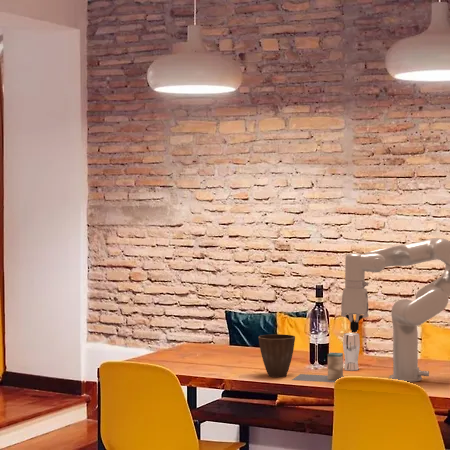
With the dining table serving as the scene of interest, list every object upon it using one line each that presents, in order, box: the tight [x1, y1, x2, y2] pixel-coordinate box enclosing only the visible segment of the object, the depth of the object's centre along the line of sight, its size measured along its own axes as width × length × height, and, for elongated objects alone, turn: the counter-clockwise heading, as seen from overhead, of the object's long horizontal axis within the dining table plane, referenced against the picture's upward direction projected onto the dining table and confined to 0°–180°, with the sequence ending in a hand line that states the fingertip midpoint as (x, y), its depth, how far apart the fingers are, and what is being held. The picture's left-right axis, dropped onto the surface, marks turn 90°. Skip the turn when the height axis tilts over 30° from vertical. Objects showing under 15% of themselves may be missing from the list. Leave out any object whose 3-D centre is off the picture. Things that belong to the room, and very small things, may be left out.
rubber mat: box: [291, 373, 344, 383], centre depth 390 cm, size 22×14×1 cm, turn 71°
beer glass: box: [342, 332, 361, 372], centre depth 413 cm, size 7×7×15 cm
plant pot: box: [258, 333, 296, 378], centre depth 400 cm, size 15×15×16 cm
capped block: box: [327, 352, 344, 380], centre depth 388 cm, size 5×5×10 cm
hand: (354, 331), depth 385 cm, fingers closed
